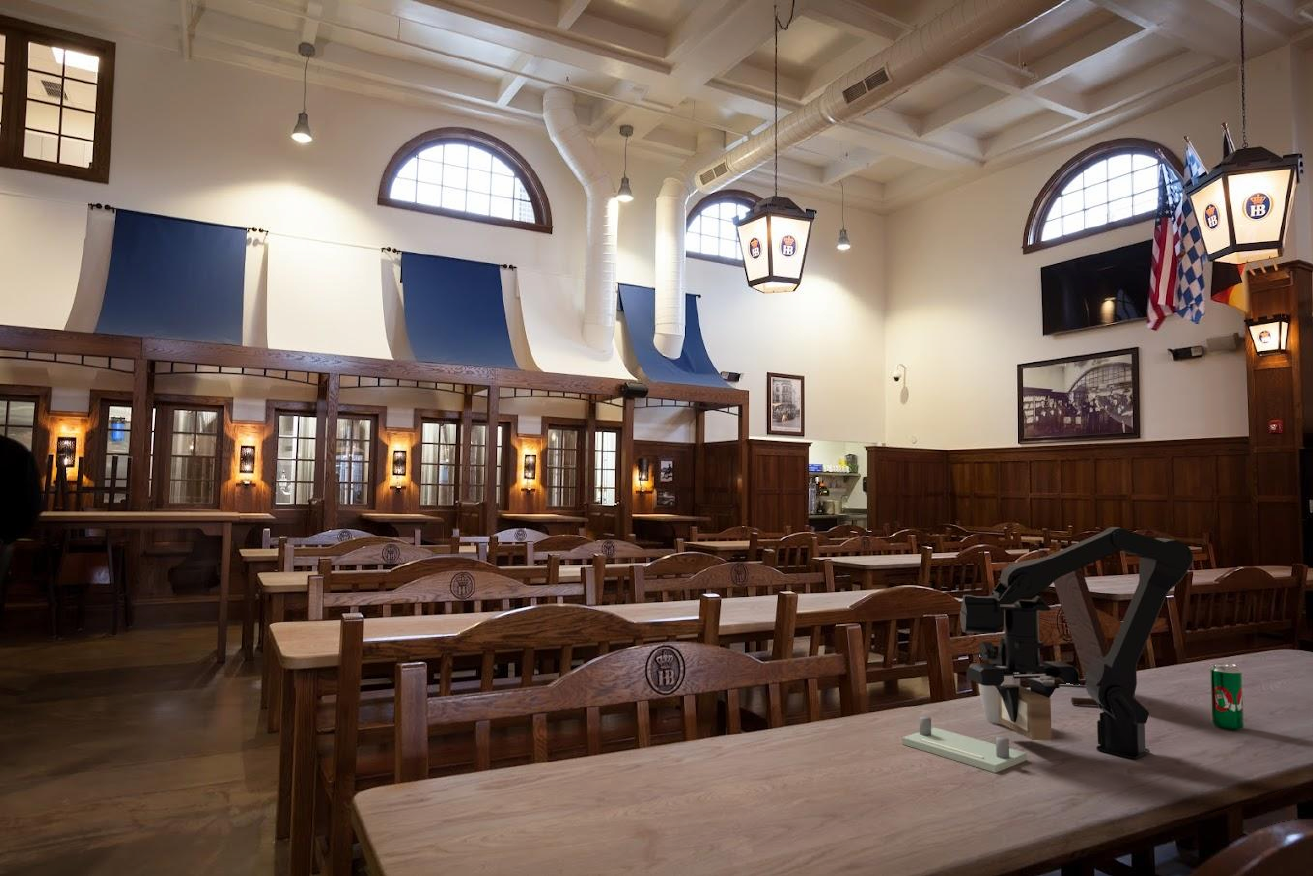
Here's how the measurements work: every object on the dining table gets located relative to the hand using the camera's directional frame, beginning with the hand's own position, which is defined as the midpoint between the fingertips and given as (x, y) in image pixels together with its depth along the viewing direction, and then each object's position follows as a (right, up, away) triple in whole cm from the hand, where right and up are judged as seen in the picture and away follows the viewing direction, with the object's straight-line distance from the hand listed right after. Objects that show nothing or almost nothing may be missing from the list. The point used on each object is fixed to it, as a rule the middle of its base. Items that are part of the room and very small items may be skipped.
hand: (1024, 721), depth 143 cm
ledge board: (-12, -4, -3) cm, 14 cm away
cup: (+2, -6, +15) cm, 16 cm away
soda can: (+45, -5, +11) cm, 47 cm away
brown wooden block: (0, -2, 0) cm, 2 cm away
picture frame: (+30, -7, +35) cm, 46 cm away
